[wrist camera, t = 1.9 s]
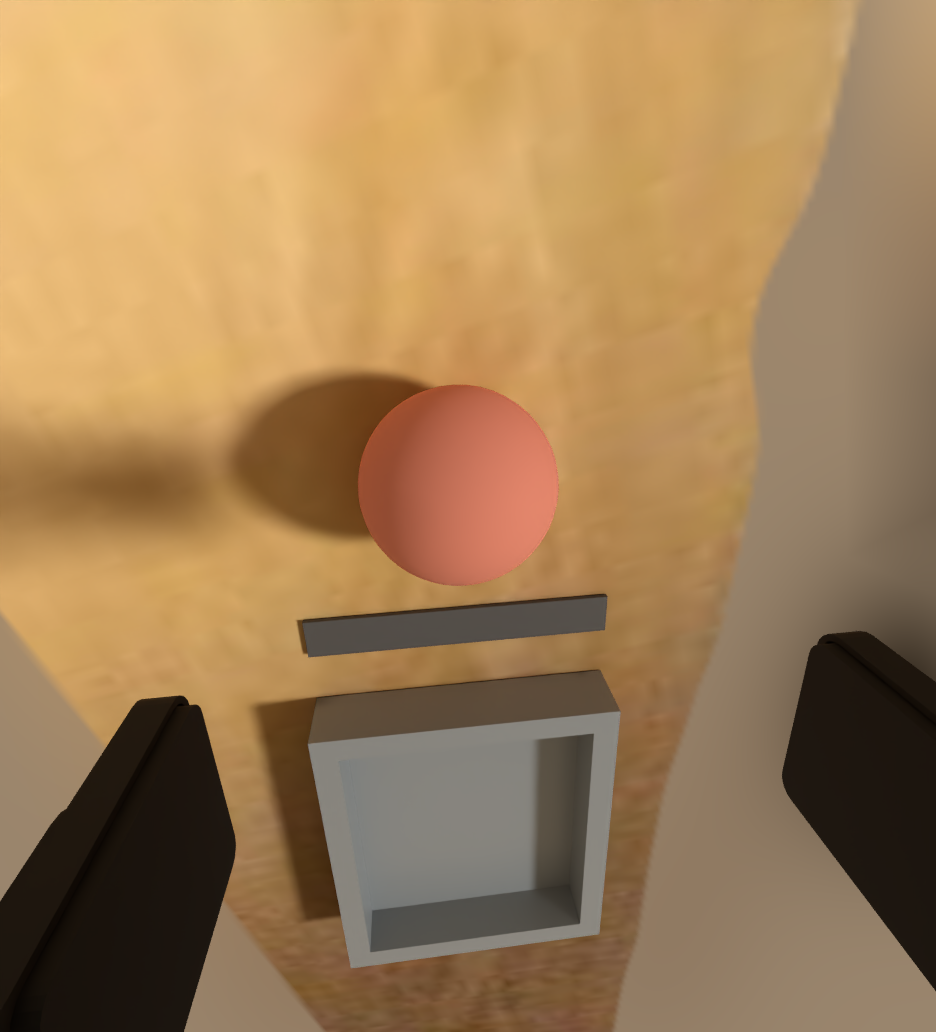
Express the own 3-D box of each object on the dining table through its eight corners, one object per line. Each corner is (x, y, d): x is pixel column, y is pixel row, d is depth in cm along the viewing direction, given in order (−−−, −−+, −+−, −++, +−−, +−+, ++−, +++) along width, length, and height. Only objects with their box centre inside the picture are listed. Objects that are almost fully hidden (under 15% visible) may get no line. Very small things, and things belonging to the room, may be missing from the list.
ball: (354, 374, 19) (335, 417, 13) (536, 364, 19) (590, 403, 14) (373, 539, 21) (363, 635, 15) (533, 527, 21) (578, 616, 16)
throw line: (303, 620, 22) (302, 623, 22) (605, 594, 23) (607, 596, 23) (309, 654, 23) (308, 657, 22) (603, 627, 24) (604, 630, 23)
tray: (317, 697, 23) (307, 744, 21) (600, 670, 24) (620, 711, 22) (354, 913, 29) (351, 968, 27) (583, 883, 30) (599, 934, 28)
